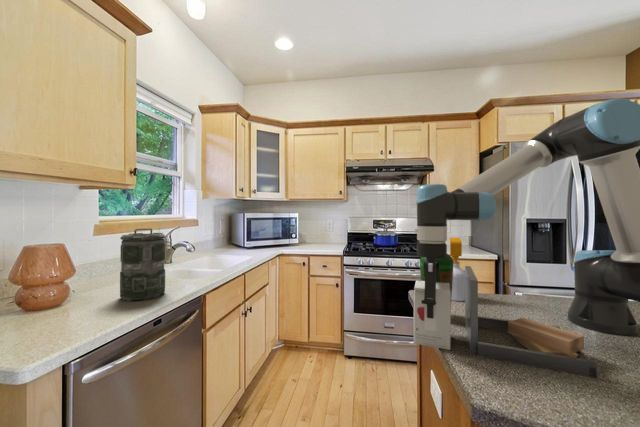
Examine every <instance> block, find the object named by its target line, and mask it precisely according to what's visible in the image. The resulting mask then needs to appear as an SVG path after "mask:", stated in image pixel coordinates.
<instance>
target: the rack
mask: <svg viewBox="0 0 640 427" xmlns="http://www.w3.org/2000/svg"><path fill="white" fill-rule="evenodd" d="M464 271H465V301H464V316H465V317H464V324H465V331H466V335H467V341H468V348H469V353H470V355H471V356H475V357H482V358H487V359H492V360H498V361H502V362H508V363H512V364H513V363H514V364H519V365H523V366H524V365H525V366H529V367H530V366H531V367H536V368H540V369H541V368H542V369H545V370H546V369H547V370H552V371H558V372H562V373H568V374H574V375H579V376H585V377H590V378H595V379H597V378H598V371H597V367H598V366H597V365H598V364H597V362H596V361H595V360H591V359H588V358H587V357H586V356H585V355H584V354H583V353H582V352H581V350H580V351H577V352H576V353H577V354H578V358H575V357H569V356H563V355H557V354H550V353H544V352H538V351H532V350H528V349H527V348H526V349H524V348H520V347H519V348H518V347H514V346H507V345H502V344H501V345H500V344H494V343H489V342H484V341H479V328H482V329H489V330H495V331H502V332H508V322H509V321H513V320H512V319H505V318H497V317H490V316H489V317H488V316H481V315H479V281H478V279H477V277H476V274H475V272H474V270H473V269H472V266H471V265H465V266H464ZM549 325H550V324H549ZM550 326H553V327H556V328H560V329H562V328H561V327H560V326H559V325H557V326H556V325H550Z"/></svg>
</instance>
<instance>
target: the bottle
mask: <svg viewBox="0 0 640 427" xmlns="http://www.w3.org/2000/svg"><path fill="white" fill-rule="evenodd" d="M444 243H446V241H445V242H444ZM449 254H450V253H447V256H446V257H445V258H437V263H439V264H440V267H439V275H438V280H437V282H439V283H449V285H450V291H451V297H452V280H453V264H454V260H453V258H452V257H451V256H450V255H449ZM426 260H427V258H426V257H420V258H419V269H420V270H419V271H420V281H425V279H424V269H423V264H424V262H426Z"/></svg>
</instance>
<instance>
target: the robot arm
mask: <svg viewBox="0 0 640 427" xmlns="http://www.w3.org/2000/svg"><path fill="white" fill-rule="evenodd" d="M639 151H640V103H638V102H637V101H633V100H631V99H629V98H623V97H615V98H611V99H607V100H605V101H601V102H597V103H594V104H593V105H590V106H588V107H586V108H584V109H582V110H579V111H578V112H575V113H573V114H572V113H571V114H570V115H569V116H566V117H563V118H561V119H559V120H557V121H555V122H554V123H552V124H551V125H549V126H548V127H546V128H545V129H544V130H542V131H541V132H539V133H538V134H536V135H534V136H533V137H532V138H531V139H529V140H527V141H526V142H525V143H524V144H523V146H522V148H521V149H519V150H517V151H516V152H514V153H513V154H511V155H509V156H507V157H506V158H503V160H501V161H500V162H498V163H495V164H494V165H492V167H490V168H488V169H487V170H485V171H483V172H481V173H480V174H478V175H477V176H475V177H474V178H472V179H471V180H469V181H467V182H466V183H463V184H462V185H460V186H459V187H457V188H455V189H454V190H453V191H451V192H450V191H448V187H447V185H445V184H443V183H442V184H440V183H439V184H438V183H434V184H432V183H430V184H424V185H423V184H422V185H420V186H418V188H417V191H416V192H417V193H416V229H414V233H417V234H416V240H417V243H416V256H417V257H420V258H421V257H426V258H427V260H426V262H424V264H423V269H424V279H425V295H424V300H422V304H424V330H430V331H436V282H437V280H438V275H439V267H440V264H439V263H437V258H445V257H446V256H447V254H448V251H447V250H448V248H447V247H448V244H446V242H447V241H448V224H447V223H448V221H487V220H490V219H492V218H494V216H495V213H496V211H497V201H496V198H495V197H494V195H496V194H498V193H499V192H501V191H503V190H504V189H506V188H507V187H509V186H511V185H512V184H514V183H516V182H517V181H519V180H521V179H522V178H524V177H526V176H527V175H529V174H530V173H533V171H536V169H539V168H546V167H549V166H550V165H551V164H554V163H556V162H558V161H561V160H565V159H567V158H570V157H571V158H572V157H575V156H577V159H578V162H579V163H580V164H582V165H585V166H587V167H588V169H589V172H590V174H591V177H592V180H593V183H594V186H595V189H596V191H597V192H596V193H597V195H598V198H599V202H600V205H601V208H602V210H603V214H604V217H605V219H606V224H607V226H608V228H609V232H610V234H611V237H612V240H613V243H614V247H615V250H609V249H608V250H607V249H606V250H600V249H598V250H596V249H595V250H592V249H591V250H587V249H586V250H578V251H576V253H575V255H574V262H573V266H574V267H573V270H574V297H573V299H572V302H571V303H570V306H569V308H568V310H567V320H568V321H569V322H570V323H572V324H575V325H577V326H580V327H582V328H585V329H589V330H593V331H597V332H600V333H606V334H607V333H608V334H614V335H621V336H622V335H623V336H625V335H626V336H627V335H628V336H630V335H631V336H632V335H637V334H638V332H639V326H638V322H637V321H636V318H635V315H634V313H633V311H632V309H631V307H630V303H629V301H630V300H631V301H634V302H637V303H640V166H639V163H638V159H637V156H636V154H637V153H638V152H639ZM444 242H445V243H444ZM427 298H433V299H427Z"/></svg>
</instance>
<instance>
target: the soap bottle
mask: <svg viewBox="0 0 640 427" xmlns="http://www.w3.org/2000/svg"><path fill="white" fill-rule="evenodd" d="M448 239H449V243H450V245H449V247H450V249H449V253H448V254H449V255H450V256H451V257H452V259H453V260H454V264H453V280H452V297H451V302H452V301H453V302H465V269H463V268H461V265H460V263H461V262H460V261H458V259H459V257H462V254H463V253H462V252H463V251H462V249H463V247H462V246H463V245H462V239H461V237H449V238H448Z"/></svg>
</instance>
